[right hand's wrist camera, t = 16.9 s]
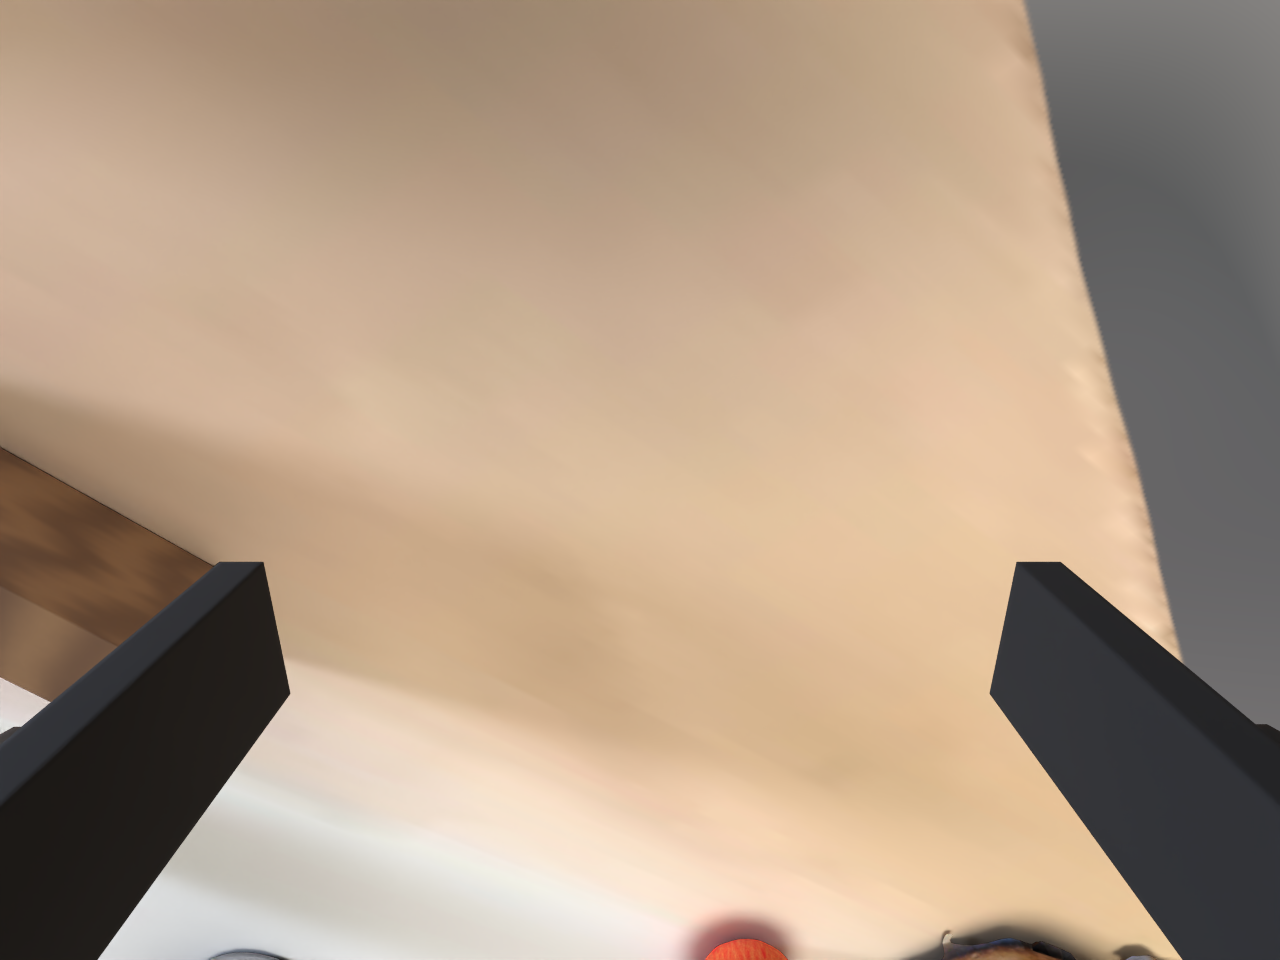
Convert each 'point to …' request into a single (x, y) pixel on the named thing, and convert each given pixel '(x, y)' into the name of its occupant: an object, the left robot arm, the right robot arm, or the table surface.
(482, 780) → the table surface
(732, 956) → the apple
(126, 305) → the table surface
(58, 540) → the bar
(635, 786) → the table surface
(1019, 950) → the bread
